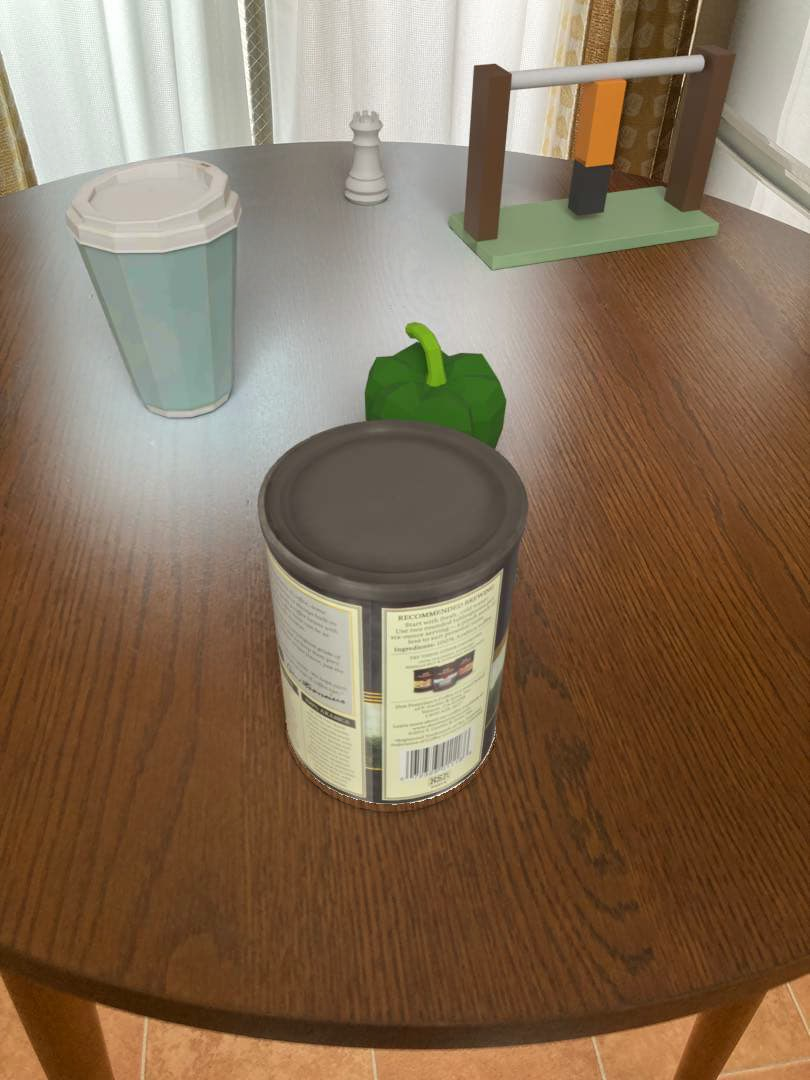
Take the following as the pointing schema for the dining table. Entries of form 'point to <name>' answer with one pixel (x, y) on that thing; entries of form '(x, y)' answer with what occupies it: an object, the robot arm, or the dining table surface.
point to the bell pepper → (436, 388)
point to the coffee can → (392, 602)
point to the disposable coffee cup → (165, 276)
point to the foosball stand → (627, 213)
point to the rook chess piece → (366, 162)
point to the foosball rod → (599, 116)
